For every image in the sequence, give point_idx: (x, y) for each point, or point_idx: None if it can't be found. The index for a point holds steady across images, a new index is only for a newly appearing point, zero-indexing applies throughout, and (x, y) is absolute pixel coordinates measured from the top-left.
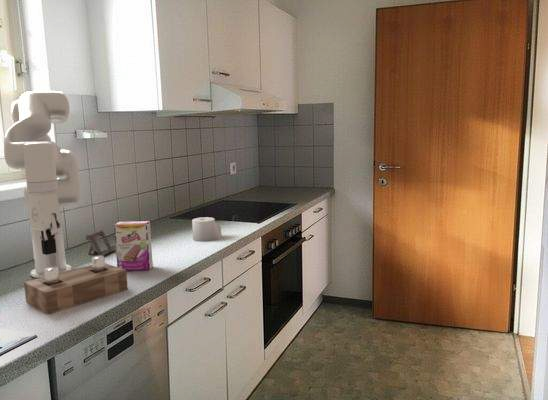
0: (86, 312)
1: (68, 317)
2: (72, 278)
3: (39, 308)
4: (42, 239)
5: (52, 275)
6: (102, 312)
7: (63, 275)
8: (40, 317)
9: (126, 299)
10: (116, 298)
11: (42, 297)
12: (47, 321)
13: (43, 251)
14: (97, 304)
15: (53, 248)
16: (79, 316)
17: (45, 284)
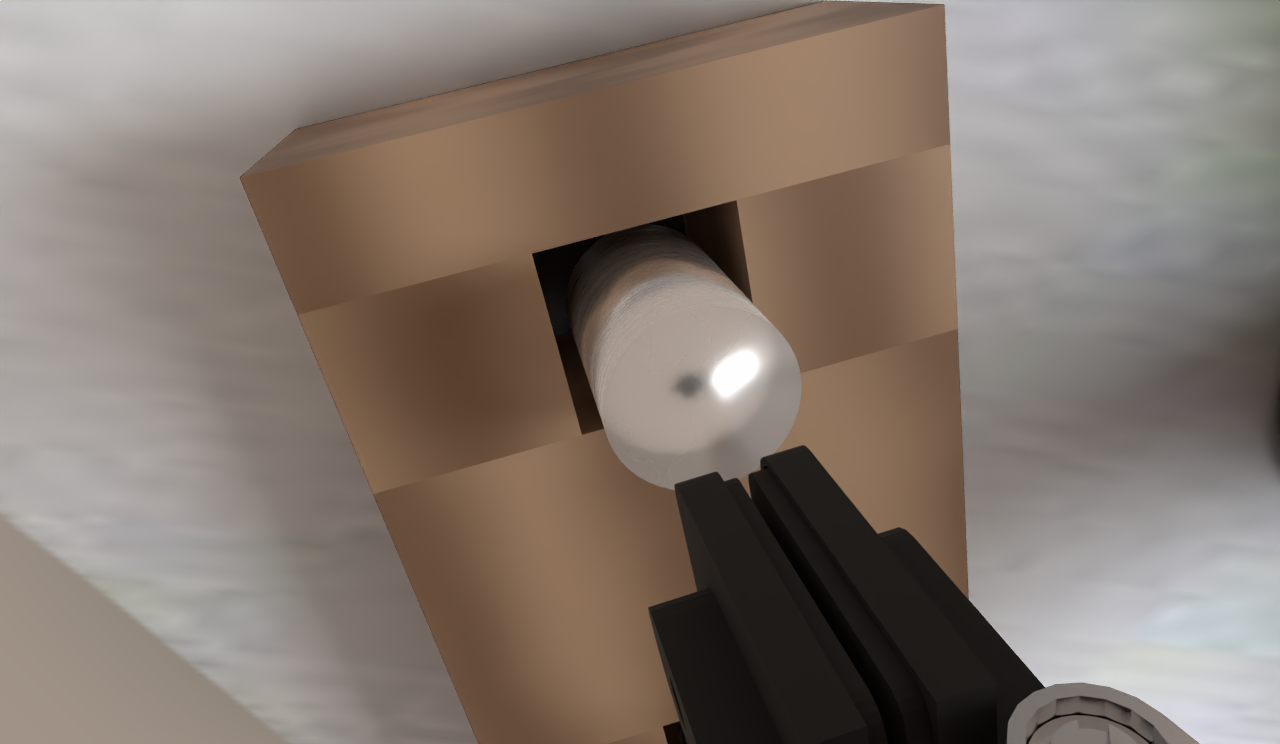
0: (139, 446)
1: (79, 287)
2: (644, 525)
3: (500, 81)
4: (1013, 727)
5: (592, 366)
6: (61, 557)
7: (833, 459)
8: (238, 41)
9: (299, 741)
10: (373, 686)
11: (375, 131)
12: (60, 83)
13: (780, 493)
14: (312, 550)
15: (680, 718)
16: (53, 378)
17: (735, 238)
